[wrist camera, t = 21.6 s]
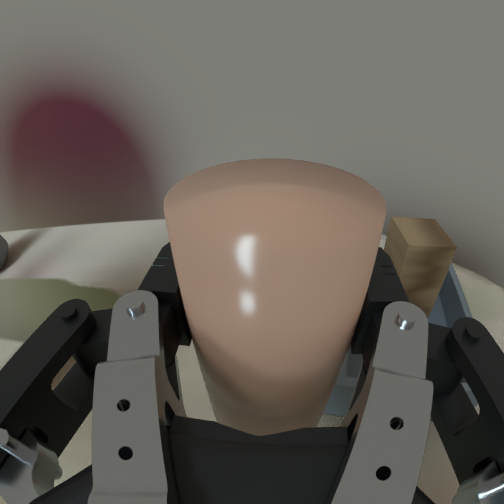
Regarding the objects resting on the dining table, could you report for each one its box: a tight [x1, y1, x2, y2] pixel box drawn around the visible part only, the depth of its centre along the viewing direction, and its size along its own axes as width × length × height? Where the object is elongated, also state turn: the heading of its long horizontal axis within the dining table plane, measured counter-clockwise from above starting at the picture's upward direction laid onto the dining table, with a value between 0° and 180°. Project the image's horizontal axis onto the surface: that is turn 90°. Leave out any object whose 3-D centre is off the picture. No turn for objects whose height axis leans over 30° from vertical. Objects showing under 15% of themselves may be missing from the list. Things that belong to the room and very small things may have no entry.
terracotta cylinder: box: [163, 159, 386, 436], centre depth 9 cm, size 5×5×10 cm
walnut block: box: [384, 217, 456, 319], centre depth 26 cm, size 5×5×10 cm
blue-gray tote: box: [323, 263, 478, 420], centre depth 25 cm, size 14×18×5 cm
